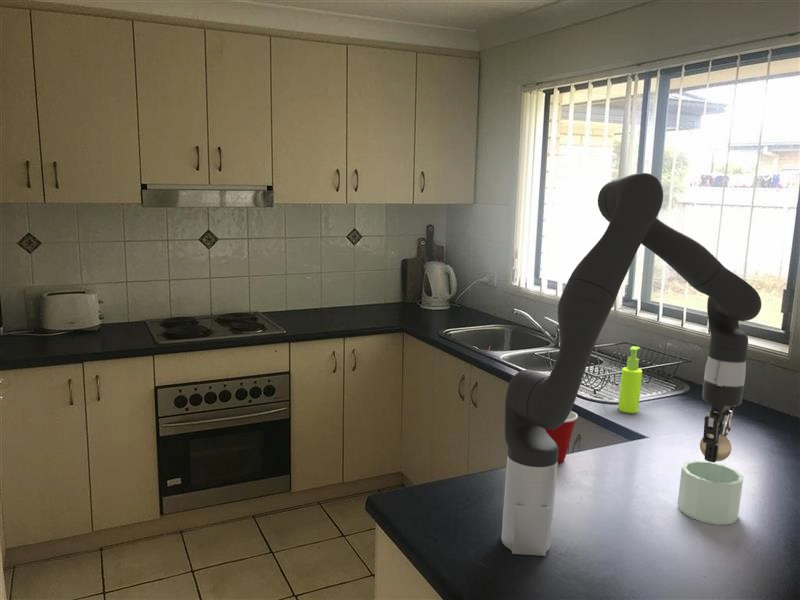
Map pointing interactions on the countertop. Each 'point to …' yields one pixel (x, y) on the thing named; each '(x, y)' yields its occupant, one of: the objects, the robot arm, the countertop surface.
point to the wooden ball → (719, 447)
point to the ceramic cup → (710, 492)
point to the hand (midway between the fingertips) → (714, 456)
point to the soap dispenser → (630, 384)
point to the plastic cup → (563, 435)
